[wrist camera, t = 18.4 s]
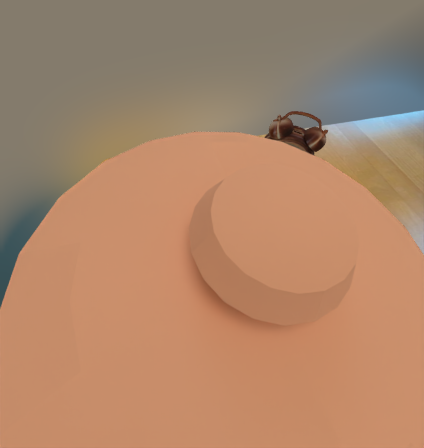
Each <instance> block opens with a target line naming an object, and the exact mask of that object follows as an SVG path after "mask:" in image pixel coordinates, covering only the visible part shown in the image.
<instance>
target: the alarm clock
mask: <svg viewBox="0 0 424 448" xmlns="http://www.w3.org/2000/svg"><path fill="white" fill-rule="evenodd" d="M292 114H298V115H303V116H307V117H310V118H312V119H314V120H316V121H317V122H318V123H319V128H318V127H312V128H309V129H307V130H305V129H303V128H301V127H298V126H293V123H292V121H291V120H290V119H289V118H287V117H288V116H289V115H292ZM327 132H328V130H324V131H323V130H322V129H321V120H320V119H318V118H317V117H315V116H313V115H311V114H308V113H304V112H298V111H292V112H289V113H288V114H286V115H285V116H284V117H281V116H280V115H279V116H278V117H277V119H275V120H273V122H272V123H271V124H270V127H269V133H268V134H267V135H266V136H265V138H267V139H272V140H276V141H281V142H284V143H286V144H288V145H291V146H293V147H295V148H298V149H300V150H302V151H305V152H307V153H309V154H312V155H314V151H315V152H317V151H319V150H320V149H321V148H322V147H323V146H324V145H325V143H326V136H325V134H326V133H327Z"/></svg>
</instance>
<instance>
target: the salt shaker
mask: <svg viewBox="0 0 424 448" xmlns="http://www.w3.org/2000/svg"><path fill="white" fill-rule="evenodd" d="M0 448H424V255H423V253H422V252H421V250H420V249H419V247H418V246H417V244H416V243H415V241H414V240H413V238H412V237H411V235H410V234H409V232H408V231H407V229H406V228H405V226H404V225H403V224H402V223H401V222H400V221H399V220H398V219H397V218H395V217H394V216H393V215H392V214H391V213H390V212H389V211H388V210H387V209H386V208H385V207H384V206H383V205H382V204H381V203H380V202H379V201H378V200H377V199H376V198H375V197H374V196H373V195H372V194H371V193H370V192H369V191H368V190H367V189H366V188H365V187H364V186H362V185H361V184H359V183H358V182H356V181H355V180H353V179H352V178H350V177H349V176H347V175H346V174H344V173H343V172H341V171H340V170H338V169H337V168H335V167H334V166H333V165H331V164H330V163H328V162H327V161H325V160H323V159H321V158H319V157H316V156H314V155H312V154H309V153H307V152H305V151H302V150H300V149H298V148H295V147H293V146H291V145H288V144H286V143H284V142H281V141H276V140H272V139H267V138H262V137H258V136H253V135H249V134H244V133H239V132H191V133H186V134H181V135H176V136H171V137H166V138H161V139H156V140H151V141H148V142H146V143H143V144H141V145H139V146H137V147H135V148H133V149H130V150H128V151H126V152H124V153H122V154H119V155H117V156H115V157H113V158H111V159H108V160H106V161H104V162H103V163H102V164H100V165H99V166H98V167H97V168H95V169H94V170H93V171H92V172H90V173H89V174H88V175H87V176H86V177H84V178H83V179H82V180H80V181H79V182H78V183H77V184H75V185H74V186H73V187H72V188H71V189H69V190H68V191H67V192H66V193H64V194H63V195H62V196H60V197H59V199H58V200H57V201H56V203H55V204H54V206H53V207H52V208H51V210H50V211H49V213H48V214H47V215H46V217H45V218H44V219H43V221H42V222H41V224H40V225H39V227H38V228H37V229H36V231H35V232H34V233H33V235H32V236H31V238H30V239H29V240H28V242H27V243H26V245H25V246H24V247H23V249H22V250H21V252H20V253H19V256H18V259H17V262H16V265H15V267H14V270H13V273H12V276H11V279H10V282H9V285H8V288H7V291H6V294H5V297H4V300H3V303H2V306H1V309H0Z"/></svg>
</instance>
